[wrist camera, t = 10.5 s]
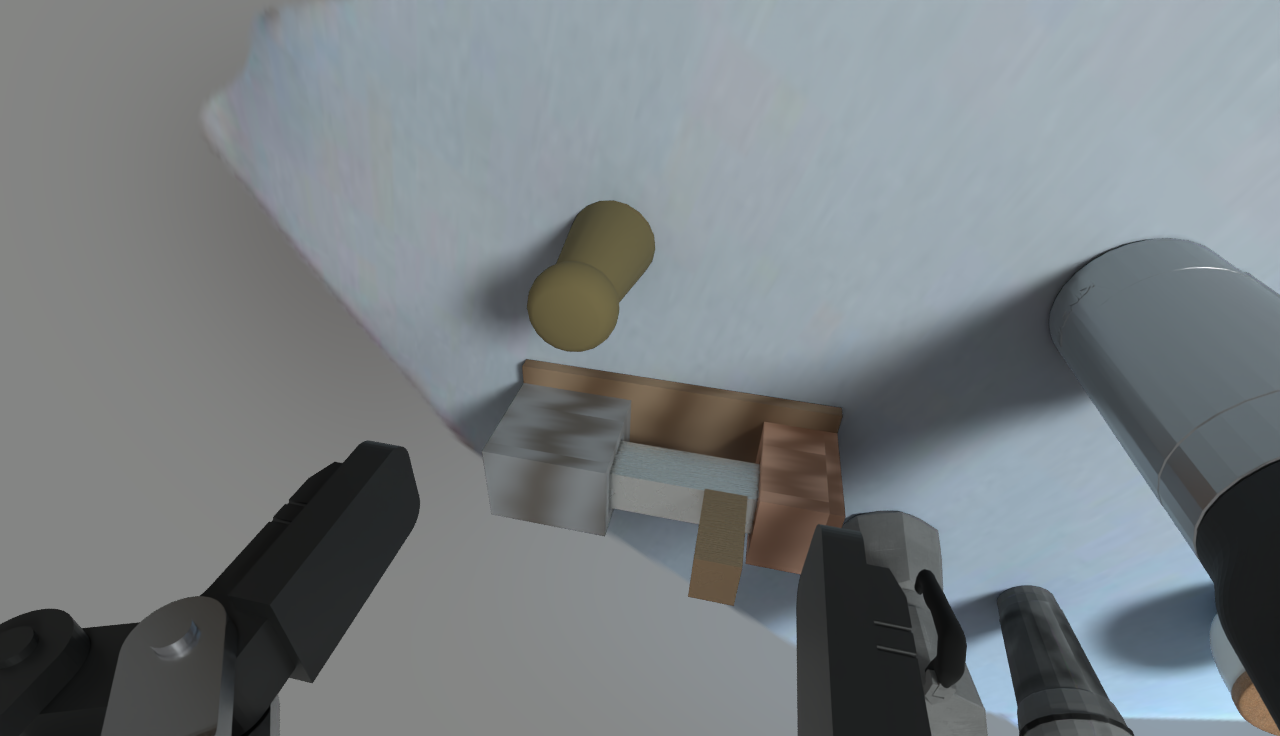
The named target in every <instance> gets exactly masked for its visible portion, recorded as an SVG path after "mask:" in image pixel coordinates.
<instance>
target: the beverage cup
mask: <svg viewBox="0 0 1280 736" xmlns="http://www.w3.org/2000/svg"><path fill="white" fill-rule="evenodd" d="M997 605H998V609H999V616H1000V625H1001V630H1002V634H1003V639H1004V644H1005V649H1006V653H1007V658H1008V663H1009V668H1010V673H1011V677H1012V682H1013V687H1014V692H1015V697H1016V701H1017V706H1018V709H1017V716H1018V727H1019V731H1020V732H1019V736H1134V734H1133V731H1132V730H1131V729H1129V728H1128V727H1127V725H1126V723H1125V721H1124V719H1123V717H1122V716H1121V714H1120V713H1119V711H1118V710H1117V708H1116V707H1115V705H1114V704H1113V703H1112V702H1111V701H1110V700H1109V698H1108V696H1107V694H1106V692H1105V690H1104V689H1103V687H1102V685H1101V683H1100V681H1099V679H1098V677H1097V675H1096V673H1095V672H1094V670H1093V668H1092V666H1091V664H1090V662H1089V660H1088V658H1087V656H1086V654H1085V653H1084V651H1083V649H1082V647H1081V645H1080V643H1079V641H1078V639H1077V637H1076V635H1075V634H1074V632H1073V630H1072V628H1071V626H1070V624H1069V622H1068V620H1067V618H1066V617H1065V615H1064V613H1063V611H1062V610H1061V609H1060V607H1059V605H1058V603H1057V602H1056V600H1055V598H1054V596H1053V594H1052V593H1050V592H1049V591H1048V590H1046V589H1043V588H1041V587H1036V586H1019V587H1013V588H1011V589H1008V590H1006V591H1004V592H1003V593H1002V594H1000V596H999V597H998V599H997Z"/></svg>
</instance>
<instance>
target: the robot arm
mask: <svg viewBox="0 0 1280 736" xmlns="http://www.w3.org/2000/svg"><path fill="white" fill-rule="evenodd" d="M1049 329H1050V334H1051V339H1052V340H1053V342H1054V344H1055V346H1056V348H1057V349H1058V351H1059V352H1060V354H1061V355H1062V357H1063V358H1064V360H1065V361H1066V363H1067V364H1068V366H1069V367H1070V369H1071V370H1072V372H1073V373H1074V375H1075V376H1076V378H1077V380H1078V381H1079V383H1080V384H1081V386H1082V387H1083V389H1084V390H1085V392H1086V393H1087V395H1088V396H1089V398H1090V399H1091V401H1092V402H1093V403H1094V405H1095V406H1096V408H1097V409H1098V411H1099V412H1100V414H1101V415H1102V417H1103V418H1104V420H1105V421H1106V423H1107V424H1108V426H1109V427H1110V429H1111V430H1112V432H1113V433H1114V435H1115V436H1116V438H1117V439H1118V441H1119V442H1120V444H1121V445H1122V447H1123V448H1124V450H1125V451H1126V453H1127V454H1128V456H1129V457H1130V459H1131V460H1132V462H1133V463H1134V465H1135V466H1136V467H1137V469H1138V470H1139V472H1140V473H1141V475H1142V476H1143V478H1144V479H1145V481H1146V482H1147V484H1148V485H1149V487H1150V488H1151V490H1152V491H1153V493H1154V494H1155V496H1156V497H1157V499H1158V500H1159V502H1160V503H1161V505H1162V506H1163V507H1164V509H1165V510H1166V512H1167V513H1168V515H1169V516H1170V518H1171V519H1172V521H1173V522H1174V524H1175V525H1176V527H1177V528H1178V530H1179V531H1180V532H1181V534H1182V535H1183V537H1184V538H1185V540H1186V541H1187V543H1188V544H1189V546H1190V547H1191V549H1192V550H1193V552H1194V553H1195V555H1196V556H1197V558H1198V559H1199V560H1200V562H1201V564H1202V565H1203V567H1204V568H1205V570H1206V571H1207V573H1208V574H1209V576H1210V578H1211V579H1212V581H1213V583H1214V587H1215V602H1216V609H1217V614H1218V617H1219V620H1220V623H1221V626H1222V628H1223V630H1224V633H1225V635H1226V637H1227V639H1228V641H1229V642H1230V644H1231V646H1232V648H1233V649H1234V651H1235V653H1236V655H1237V656H1238V658H1239V660H1240V662H1241V663H1242V665H1243V667H1244V669H1245V670H1246V672H1247V674H1248V676H1249V677H1250V679H1251V681H1252V683H1253V684H1254V686H1255V688H1256V690H1257V692H1258V693H1259V695H1260V697H1261V699H1262V700H1263V702H1264V704H1265V706H1266V708H1267V709H1268V711H1269V713H1270V715H1271V717H1272V718H1273V720H1274V722H1275V724H1276V725H1277V727H1278V729H1279V731H1280V295H1279V294H1278V293H1276V292H1275V291H1274V290H1272V289H1271V288H1269V287H1268V286H1267V285H1265V284H1264V283H1262V282H1261V281H1259V280H1258V279H1257V278H1255V277H1254V276H1252V275H1251V274H1249V273H1247V272H1242V271H1241V270H1239V269H1238V268H1236V267H1235V266H1234V265H1232V264H1231V263H1229V262H1228V261H1226V260H1225V259H1224V258H1222V257H1221V256H1219V255H1218V254H1216V253H1215V252H1213V251H1212V250H1210V249H1209V248H1207V247H1206V246H1204V245H1201V244H1198V243H1195V242H1192V241H1189V240H1181V239H1172V238H1165V239H1149V240H1145V241H1140V242H1135V243H1131V244H1127V245H1125V246H1122V247H1119V248H1117V249H1114V250H1111V251H1109V252H1107V253H1105V254H1104V255H1102V256H1100V257H1098V258H1096V259H1094V260H1093V261H1091V262H1090V263H1088V264H1087V265H1086V266H1084V267H1083V268H1082V269H1081V270H1079V271H1078V272H1077V273H1076V274H1075V275H1074V276H1073V277H1072V278H1071V279H1070V280H1069V281H1068V282H1067V283H1066V284H1065V285H1064V286H1063V288H1062V290H1061V291H1060V293H1059V294H1058V296H1057V297H1056V299H1055V301H1054V304H1053V307H1052V309H1051V312H1050V320H1049ZM419 509H420V498H419V494H418V490H417V486H416V482H415V478H414V474H413V470H412V466H411V462H410V458H409V454H408V451H407V450H406V449H405V448H404V447H401V446H396V445H390V444H385V443H379V442H374V441H364V442H362V443H361V444H359V445H358V446H357V447H356V449H355V450H354V451H353V452H352V453H351V454H350V456H349V457H348V458H347V459H346V460H345V461H344V462H343V463H338V462H334V463H332V464H330V465H329V466H327V467H326V468H324V469H323V470H321V471H319V472H318V473H316V474H315V475H313V476H311V477H310V478H308V480H307V481H306V482H305V483H304V484H303V485H302V486H301V487H300V488H299V489H298V490H297V492H296V493H295V494H294V495H293V496H292V497H291V498H290V499H289V503H288V504H285V505H284V506H283V507H282V508H281V509H280V510H279V511H278V512H277V514H276V515H275V516H274V517H273V521H272V522H268V523H267V524H266V526H265V527H264V528H263V529H262V530H261V531H260V532H259V533H258V534H257V535H256V537H255V538H254V539H253V540H252V541H251V542H250V543H249V544H248V545H247V547H246V548H245V549H244V550H243V551H242V552H241V553H240V554H239V555H238V556H237V557H236V559H235V560H234V561H233V562H232V563H231V564H230V565H229V566H228V567H227V568H226V569H225V571H224V572H223V573H222V574H221V575H220V576H219V577H218V578H217V579H216V580H215V582H214V583H213V584H212V585H211V586H210V587H209V588H208V589H207V590H206V591H205V592H204V593H203V594H201V595H200V596H195V597H188V598H184V599H180V600H177V601H174V602H171V603H169V604H167V605H165V606H163V607H161V608H159V609H158V610H156V611H154V612H153V613H151V614H150V615H149V616H147V617H146V618H145V619H143V620H142V621H141V622H139V623H130V624H120V625H110V626H100V627H90V628H81V627H80V626H79V625H78V624H77V623H76V622H75V620H73V618H72V617H71V616H70V615H69V614H68V613H66V612H65V611H62V610H58V609H41V610H36V611H31V612H28V613H25V614H22V615H19V616H17V617H15V618H12V619H10V620H8V621H6V622H4V623H2V624H0V736H279V735H280V730H279V729H280V703H279V697H278V693H279V691H280V690H281V688H282V687H283V686H284V684H285V682H286V681H287V679H288V678H293V679H298V680H301V681H305V682H309V683H313V682H314V680H315V679H316V677H317V676H318V674H319V672H320V671H321V669H322V668H323V666H324V665H325V663H326V662H327V660H328V659H329V657H330V655H331V654H332V652H333V651H334V649H335V648H336V646H337V645H338V643H339V642H340V640H341V639H342V637H343V635H344V634H345V632H346V631H347V629H348V628H349V626H350V625H351V623H352V622H353V620H354V619H355V617H356V616H357V614H358V612H359V611H360V609H361V608H362V606H363V605H364V603H365V602H366V600H367V599H368V597H369V596H370V594H371V593H372V591H373V589H374V588H375V586H376V585H377V583H378V582H379V580H380V579H381V577H382V576H383V574H384V573H385V571H386V569H387V568H388V566H389V565H390V563H391V562H392V560H393V559H394V557H395V556H396V554H397V553H398V551H399V549H400V548H401V546H402V544H403V543H404V542H405V540H406V539H407V537H408V536H409V534H410V532H411V531H412V529H413V528H414V525H415V523H416V520H417V518H418V514H419ZM796 616H797V702H798V703H797V708H798V736H932V735H931V730H930V724H929V719H928V713H927V707H926V702H925V696H924V691H923V685H922V680H921V674H920V669H919V663H918V659H917V658H916V647H915V641H914V636H913V633H912V632H911V629H912V625H911V619H910V614H909V608H908V603H907V597H906V595H905V594H904V592H903V590H902V589H901V587H900V585H899V584H898V582H897V580H896V579H895V577H894V575H893V574H892V572H891V570H890V569H889V568H885V567H880V566H875V565H869V564H867V563H866V555H865V547H864V540H863V536H862V533H861V532H860V531H855V530H849V529H844V528H838V527H833V526H827V525H822V524H818V525H817V526H816V528H815V531H814V534H813V537H812V540H811V544H810V547H809V550H808V553H807V556H806V559H805V562H804V565H803V568H802V572H801V575H800V579H799V585H798V592H797V606H796Z"/></svg>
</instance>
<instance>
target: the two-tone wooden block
mask: <svg viewBox="0 0 1280 736" xmlns="http://www.w3.org/2000/svg"><path fill="white" fill-rule="evenodd" d="M759 479H760V464H755V463H749V462H743V461H737V460H731V459H725V458H720V457H714V456H708V455H702V454H696V453H690V452H684V451H679V450H673V449H667V448H661V447H655V446H649V445H643V444H638V443H632V442H626V441H620V443H619V446H618V449H617V452H616V455H615V458H614V461H613V464H612V466H611V469H610V472H609V504H608V507H609V508H614V509H619V510H625V511H630V512H635V513H641V514H646V515H651V516H657V517H662V518H667V519H673V520H678V521H683V522H689V523H694V524H699V529H698V535H697V541H696V548H695V554H694V561H693V567H692V574H691V581H690V587H689V594H688V597H692V598H697V599H702V600H707V601H712V602H717V603H722V604H727V605H731V606H734V602H735V598H736V593H737V589H738V584H739V580H740V576H741V571H742V565H743V551H744V538H745V533H747V534H751V530H752V526H753V521H754V517H755V513H756V508H757V504H758V496H759Z"/></svg>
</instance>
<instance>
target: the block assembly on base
mask: <svg viewBox="0 0 1280 736" xmlns="http://www.w3.org/2000/svg"><path fill="white" fill-rule="evenodd" d="M522 369H523V380H524V383H523V385H522V387H521V388H520V390H519V392H518V393H517V395H516V397H515V398H514V400H513V401H512V403H511V405H510V406H509V408H508V410H507V411H506V413H505V414H504V416H503V418H502V419H501V421H500V423H499V424H498V426H497V427H496V429H495V431H494V432H493V434H492V436H491V437H490V439H489V441H488V442H487V444H486V445H485V447H484V449H483V450H482V456H483V462H484V469H485V475H486V482H487V488H488V495H489V502H490V508H491V514H493V515H498V516H504V517H509V518H513V519H518V520H523V521H529V522H534V523H539V524H544V525H549V526H554V527H559V528H565V529H570V530H575V531H580V532H585V533H590V534H595V535H601V536H605V534H606V531H607V528H608V525H609V522H610V519H611V515H612V512H613V509H614V508H609V507H608V504H609V472H610V469H611V466H612V464H613V461H614V458H615V455H616V452H617V449H618V446H619V443H620V441H626V442H632V443H638V444H643V445H649V446H655V447H661V448H667V449H673V450H679V451H684V452H690V453H696V454H702V455H708V456H714V457H720V458H725V459H731V460H737V461H743V462H749V463H755V464H760V479H759V496H758V504H757V508H756V513H755V517H754V521H753V526H752V530H751V534H748V538H747V552H746V564H750V565H755V566H760V567H765V568H770V569H775V570H780V571H786V572H791V573H796V574H801V572H802V568H803V565H804V562H805V559H806V556H807V553H808V550H809V547H810V544H811V540H812V537H813V534H814V531H815V528H816V526H817V525H818V524H822V525H827V526H833V527H838V528H842V525H843V522H844V520H845V517H846V516H845V506H844V496H843V486H842V476H841V466H840V456H839V446H838V435H837V433H838V430H839V426H840V423H841V420H842V417H843V415H842V408H839V407H832V406H826V405H819V404H813V403H806V402H800V401H793V400H787V399H781V398H774V397H768V396H761V395H755V394H748V393H742V392H735V391H729V390H722V389H716V388H709V387H703V386H697V385H690V384H684V383H677V382H671V381H664V380H658V379H651V378H645V377H638V376H632V375H626V374H619V373H613V372H606V371H600V370H593V369H587V368H580V367H574V366H567V365H561V364H554V363H548V362H542V361H535V360H529V359H526V361H525V363H524V364H523V366H522Z"/></svg>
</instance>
